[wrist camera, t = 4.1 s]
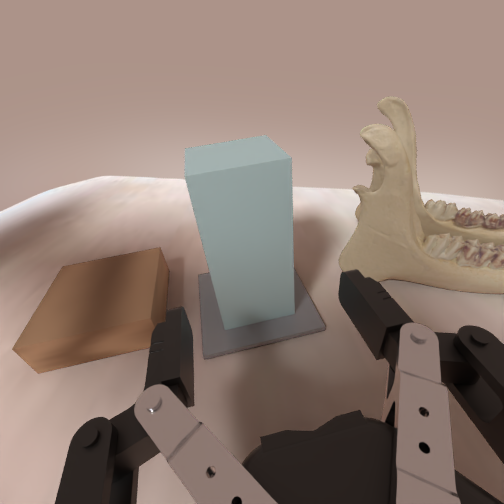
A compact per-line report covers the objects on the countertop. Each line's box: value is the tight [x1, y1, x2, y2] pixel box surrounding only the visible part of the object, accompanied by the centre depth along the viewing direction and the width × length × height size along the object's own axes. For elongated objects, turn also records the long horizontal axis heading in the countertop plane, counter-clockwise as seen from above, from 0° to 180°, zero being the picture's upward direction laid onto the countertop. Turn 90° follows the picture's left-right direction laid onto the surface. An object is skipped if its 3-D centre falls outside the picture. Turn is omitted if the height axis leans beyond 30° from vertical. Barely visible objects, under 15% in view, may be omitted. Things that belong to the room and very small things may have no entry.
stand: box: [12, 247, 169, 374], centre depth 23 cm, size 9×9×3 cm
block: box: [185, 135, 295, 330], centre depth 19 cm, size 6×6×12 cm
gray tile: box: [198, 269, 325, 359], centre depth 23 cm, size 9×9×1 cm
